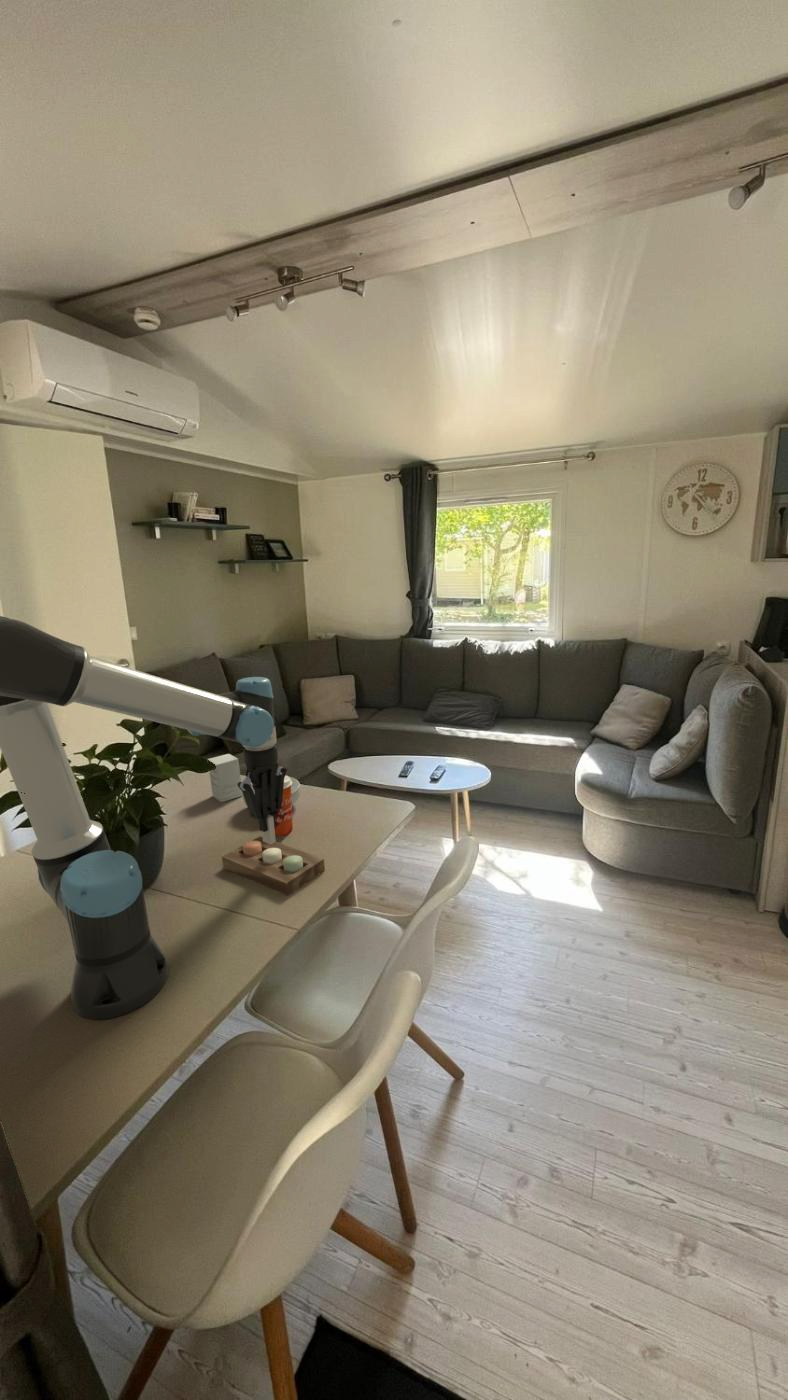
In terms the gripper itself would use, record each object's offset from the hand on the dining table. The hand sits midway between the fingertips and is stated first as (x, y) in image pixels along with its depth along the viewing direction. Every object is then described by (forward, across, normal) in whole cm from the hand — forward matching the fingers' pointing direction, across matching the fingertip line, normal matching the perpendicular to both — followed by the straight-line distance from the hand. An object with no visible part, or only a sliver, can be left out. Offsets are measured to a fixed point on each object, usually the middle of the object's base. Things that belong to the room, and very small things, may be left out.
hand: (269, 841), depth 132 cm
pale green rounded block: (+7, 0, -7) cm, 10 cm away
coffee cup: (+7, +15, +13) cm, 21 cm away
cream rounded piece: (+7, 0, 0) cm, 7 cm away
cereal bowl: (+7, +24, +26) cm, 36 cm away
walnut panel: (+7, 0, 0) cm, 7 cm away
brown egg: (+7, 0, +7) cm, 10 cm away
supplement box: (+7, +23, +46) cm, 52 cm away
